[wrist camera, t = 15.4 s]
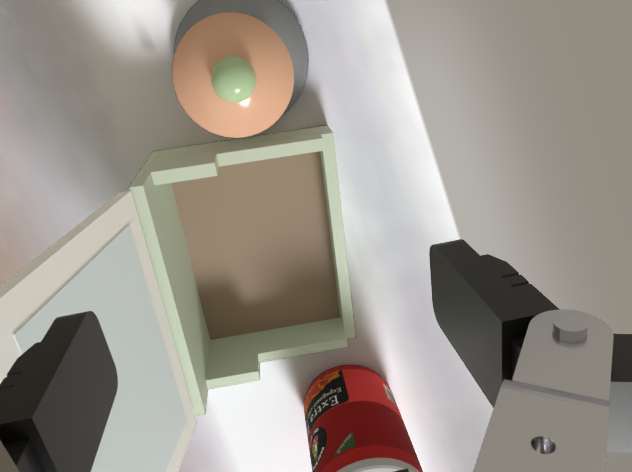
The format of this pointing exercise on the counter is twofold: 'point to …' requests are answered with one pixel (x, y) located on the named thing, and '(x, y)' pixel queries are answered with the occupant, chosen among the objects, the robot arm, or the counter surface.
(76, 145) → the counter surface
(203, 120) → the terracotta pot
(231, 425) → the counter surface
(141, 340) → the glass lid
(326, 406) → the canned food
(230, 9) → the slate saucer
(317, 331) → the box
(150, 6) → the counter surface
